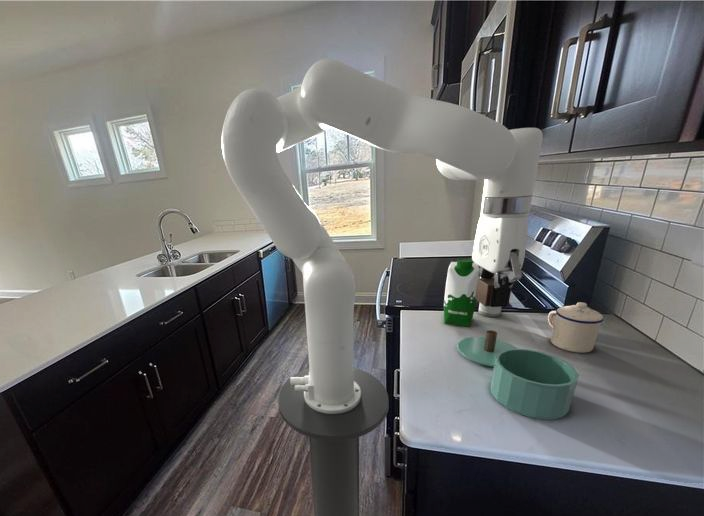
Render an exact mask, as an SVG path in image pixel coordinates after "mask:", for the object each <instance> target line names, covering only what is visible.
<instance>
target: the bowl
mask: <svg viewBox="0 0 704 516" xmlns="http://www.w3.org/2000/svg"><path fill="white" fill-rule="evenodd" d="M579 377H580V375H579V373H578V371H577V369H576V368H575V367H574V366H572V365H571V364H570V363H568V362H567V361H565V360H564V359H562V358H559V357H557V356H556V355H552V354H549V353H546V352H544V351H540V350H533V349H530V348H529V349H528V348H517V349H508V350H504V351H501V352H499V353H498V354H497V356H496V358H495V363H494V367H493V369H492V375H491V381H490V393H491V395H492V396H493V398H494V399H495V400H496V401H497V402H498V403H499V404H500V405H502V406H503V407H505V408H507V409H509V410H510V411H512V412H515V413H517V414H519V415H521V416H525V417H528V418H532V419H537V420H547V421H548V420H550V421H551V420H558V419H561V418H564V417H565V416H566V415H567V414H568V413H569V411H570V407H571V404H572V401H573V397H574V395H575V394H574V393H575V391H576V387H577V384H578V381H579Z"/></svg>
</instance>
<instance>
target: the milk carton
mask: <svg viewBox="0 0 704 516" xmlns="http://www.w3.org/2000/svg"><path fill="white" fill-rule="evenodd" d="M478 272H479V267H478V265H477V264H476V263H474V262H473V260H472V258H471V259H470V258H458V259H457V260H456V261H450V263H449V266H448V269H447V273H446V275H447V276H446V281H445V287H444V289H445V290H444V299H443V319H444V324H445V325H451V326H460V327H467V328H470V327H471V324H472V320H473V316H474V314H475V310H476V305H477V300H476V299H475V295H476V287H477V279H479V277H478Z"/></svg>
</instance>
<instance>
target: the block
mask: <svg viewBox="0 0 704 516" xmlns="http://www.w3.org/2000/svg"><path fill="white" fill-rule="evenodd" d="M501 279H502V278H501ZM491 287H494V278H479V279H477V287H476V295H475V299H476V302H478V303H479V304H480V303H481V304H482V305H484V306H485V307H487V306H489V301H490V294H491ZM511 294H512V288H510V294H509V300H508V305H507V306H510V305H509V304H510V298H511ZM507 306H506V307H507Z"/></svg>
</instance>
